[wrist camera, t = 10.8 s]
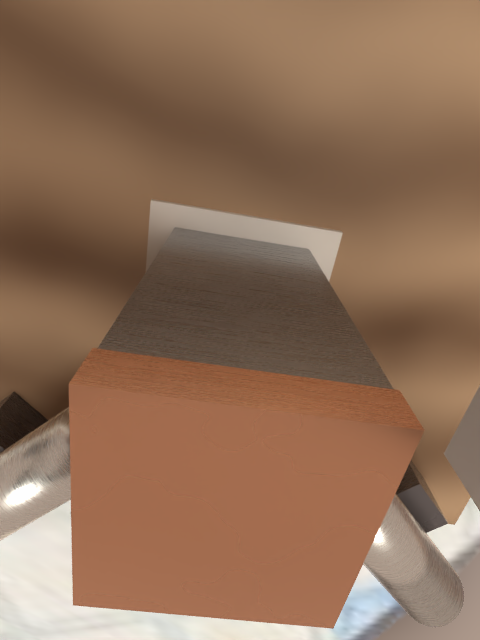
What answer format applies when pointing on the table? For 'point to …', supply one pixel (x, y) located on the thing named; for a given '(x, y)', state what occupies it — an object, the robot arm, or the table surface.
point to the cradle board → (246, 175)
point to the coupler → (231, 441)
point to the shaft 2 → (415, 555)
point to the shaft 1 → (31, 463)
